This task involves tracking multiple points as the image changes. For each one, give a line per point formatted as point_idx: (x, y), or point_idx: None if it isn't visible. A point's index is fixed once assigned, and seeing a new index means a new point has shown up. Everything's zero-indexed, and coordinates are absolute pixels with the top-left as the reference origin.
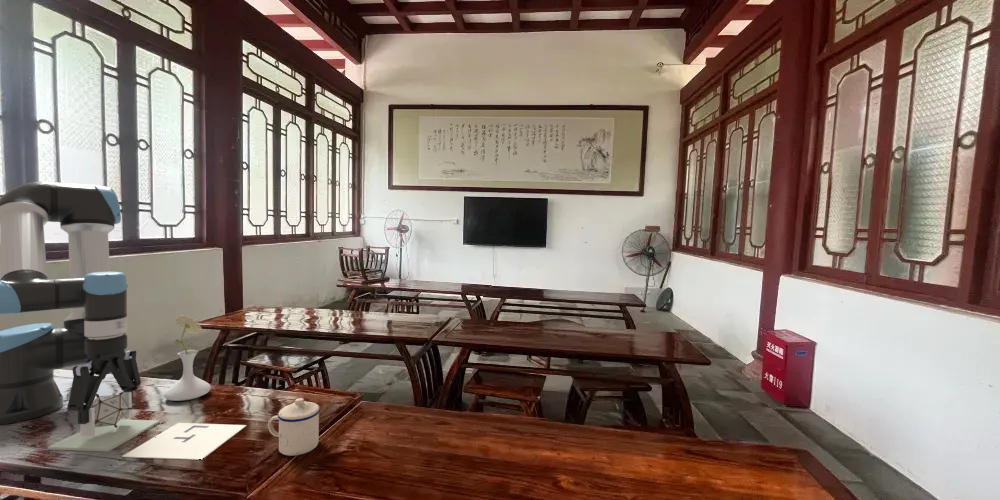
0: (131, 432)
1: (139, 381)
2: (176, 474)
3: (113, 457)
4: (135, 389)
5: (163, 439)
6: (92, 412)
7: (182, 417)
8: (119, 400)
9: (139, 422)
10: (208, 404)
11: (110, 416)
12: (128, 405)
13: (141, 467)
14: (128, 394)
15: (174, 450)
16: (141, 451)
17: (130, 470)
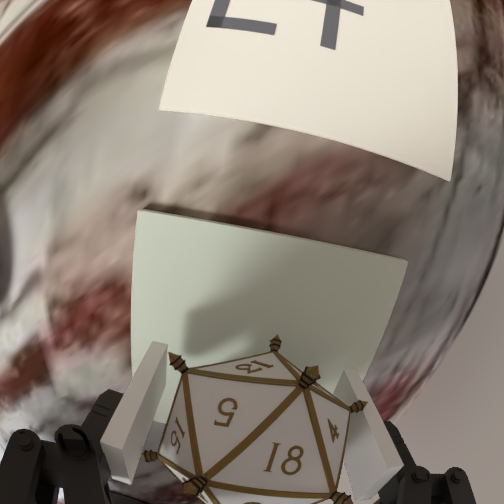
0: (263, 266)
1: (15, 449)
2: (493, 19)
3: (444, 210)
4: (77, 435)
5: (339, 83)
6: (392, 450)
7: (95, 138)
8: (247, 448)
9: (154, 295)
10: (6, 124)
11: (320, 389)
12: (148, 389)
13: (489, 95)
14: (126, 442)
15: (418, 26)
16: (427, 127)
17: (499, 118)
